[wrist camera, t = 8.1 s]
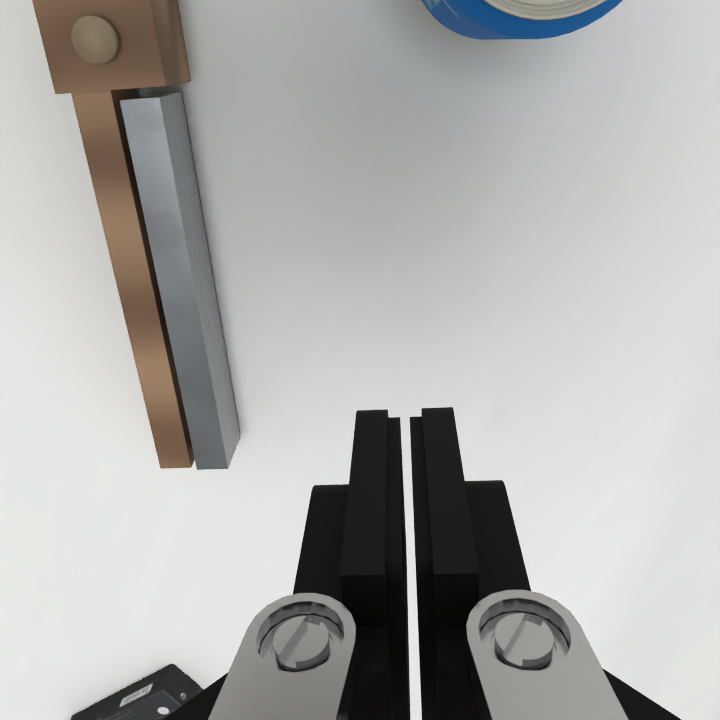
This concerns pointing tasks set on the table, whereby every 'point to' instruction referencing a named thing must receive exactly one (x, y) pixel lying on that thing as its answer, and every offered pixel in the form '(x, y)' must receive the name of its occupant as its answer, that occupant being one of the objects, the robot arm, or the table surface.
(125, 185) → the brown bar with block
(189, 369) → the long gray metal bar
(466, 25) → the beverage can
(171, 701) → the disk drive
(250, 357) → the table surface
